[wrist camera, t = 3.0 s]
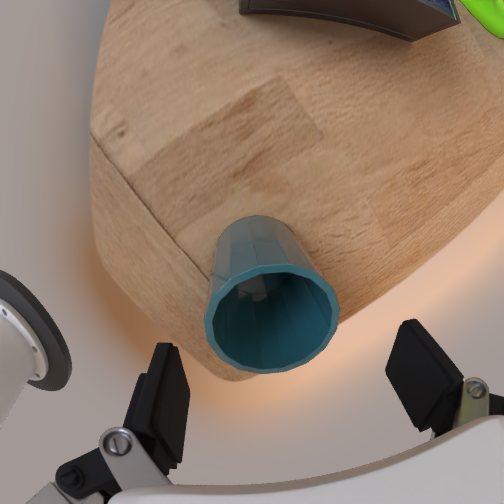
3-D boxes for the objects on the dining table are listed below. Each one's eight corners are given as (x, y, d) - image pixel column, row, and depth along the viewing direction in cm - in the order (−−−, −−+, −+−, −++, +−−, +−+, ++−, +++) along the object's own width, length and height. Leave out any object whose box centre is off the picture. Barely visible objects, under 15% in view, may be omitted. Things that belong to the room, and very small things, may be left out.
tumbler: (218, 296, 22) (213, 377, 14) (210, 217, 20) (196, 269, 11) (297, 290, 22) (330, 365, 14) (299, 213, 20) (346, 259, 12)
